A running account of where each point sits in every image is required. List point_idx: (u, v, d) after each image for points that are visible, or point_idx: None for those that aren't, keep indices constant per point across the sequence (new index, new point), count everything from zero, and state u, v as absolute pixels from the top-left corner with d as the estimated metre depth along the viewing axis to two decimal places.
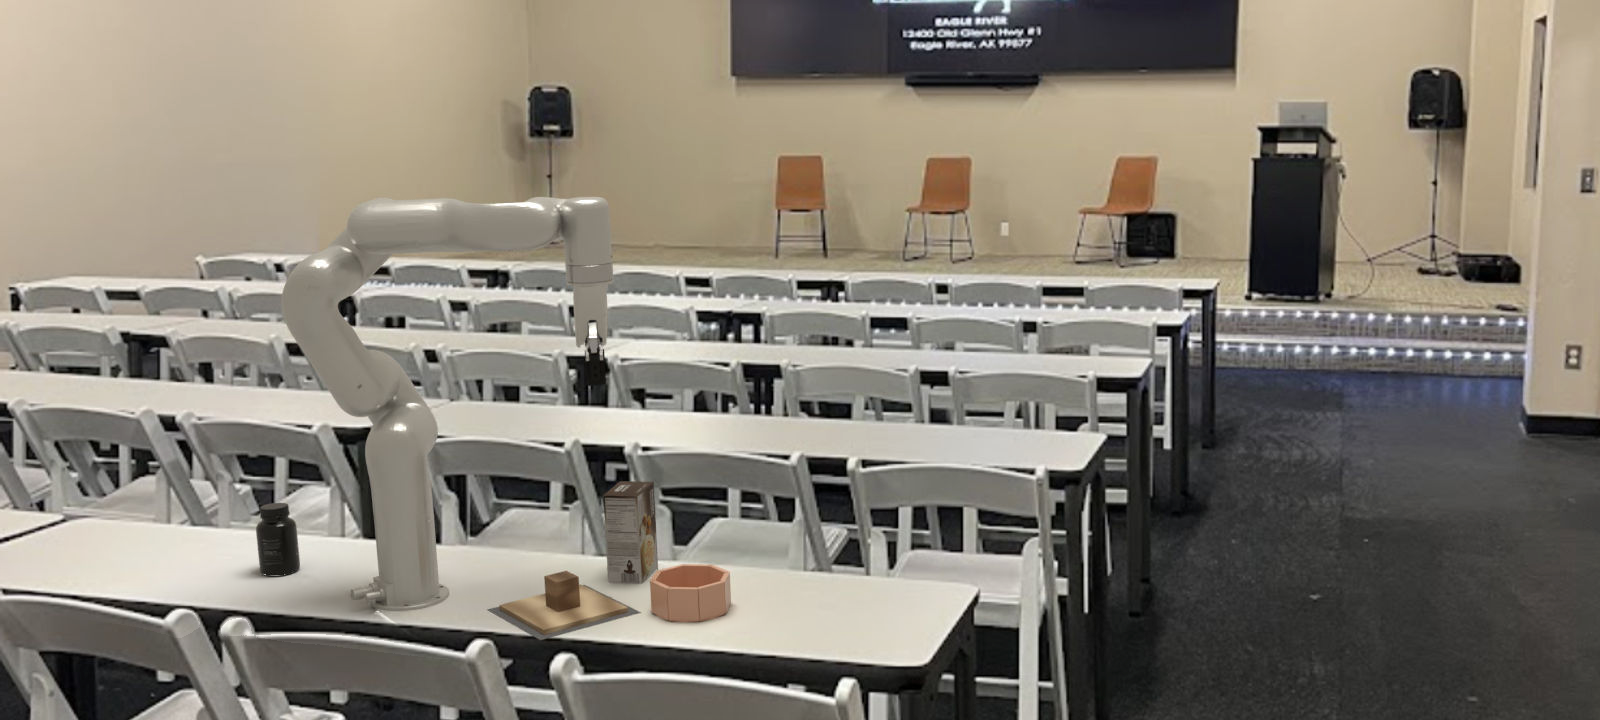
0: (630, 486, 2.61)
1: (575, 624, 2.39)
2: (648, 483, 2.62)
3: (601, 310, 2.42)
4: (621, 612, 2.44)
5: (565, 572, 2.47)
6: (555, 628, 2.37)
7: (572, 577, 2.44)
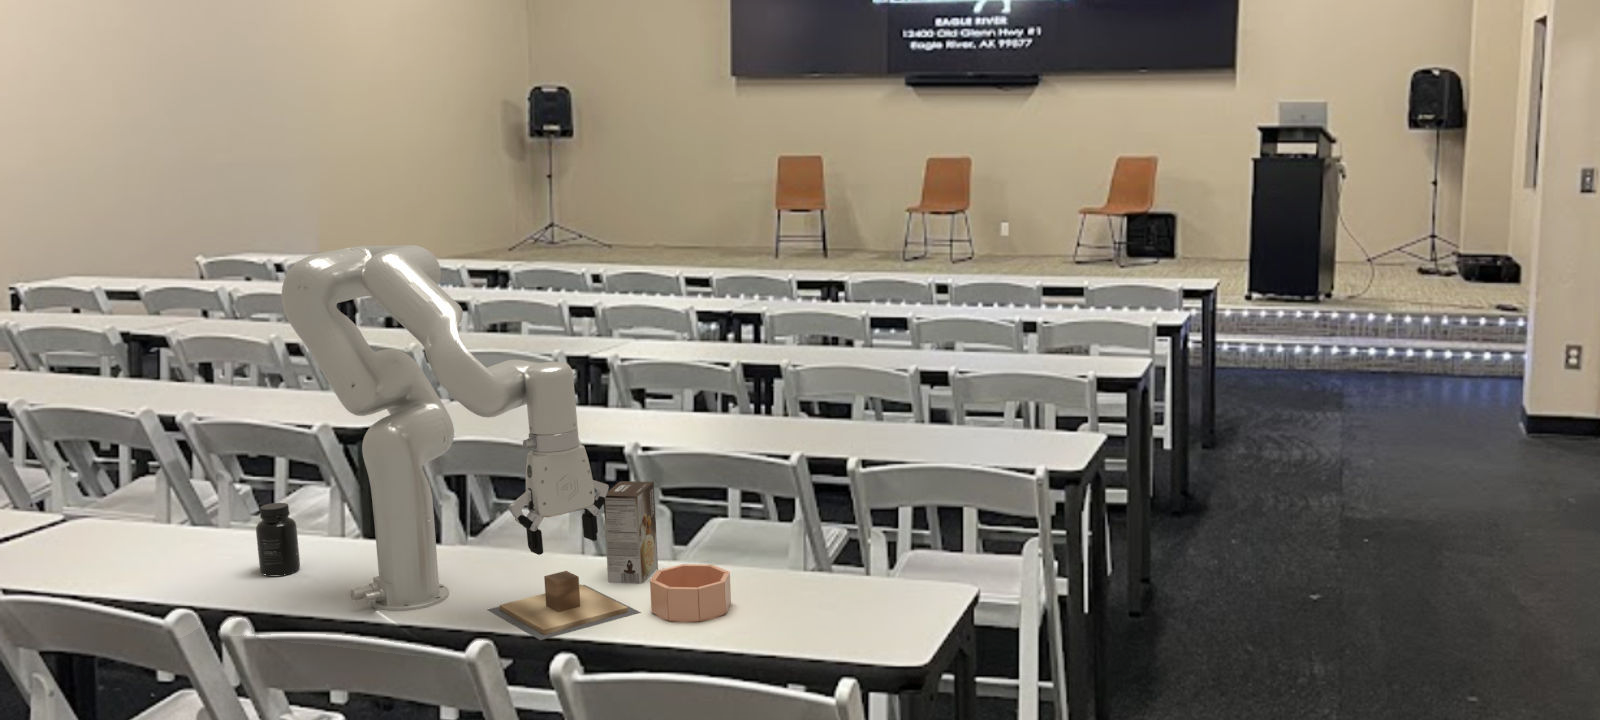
0: (630, 486, 2.61)
1: (575, 624, 2.39)
2: (648, 483, 2.62)
3: None
4: (621, 612, 2.44)
5: (565, 572, 2.47)
6: (555, 628, 2.37)
7: (572, 577, 2.44)
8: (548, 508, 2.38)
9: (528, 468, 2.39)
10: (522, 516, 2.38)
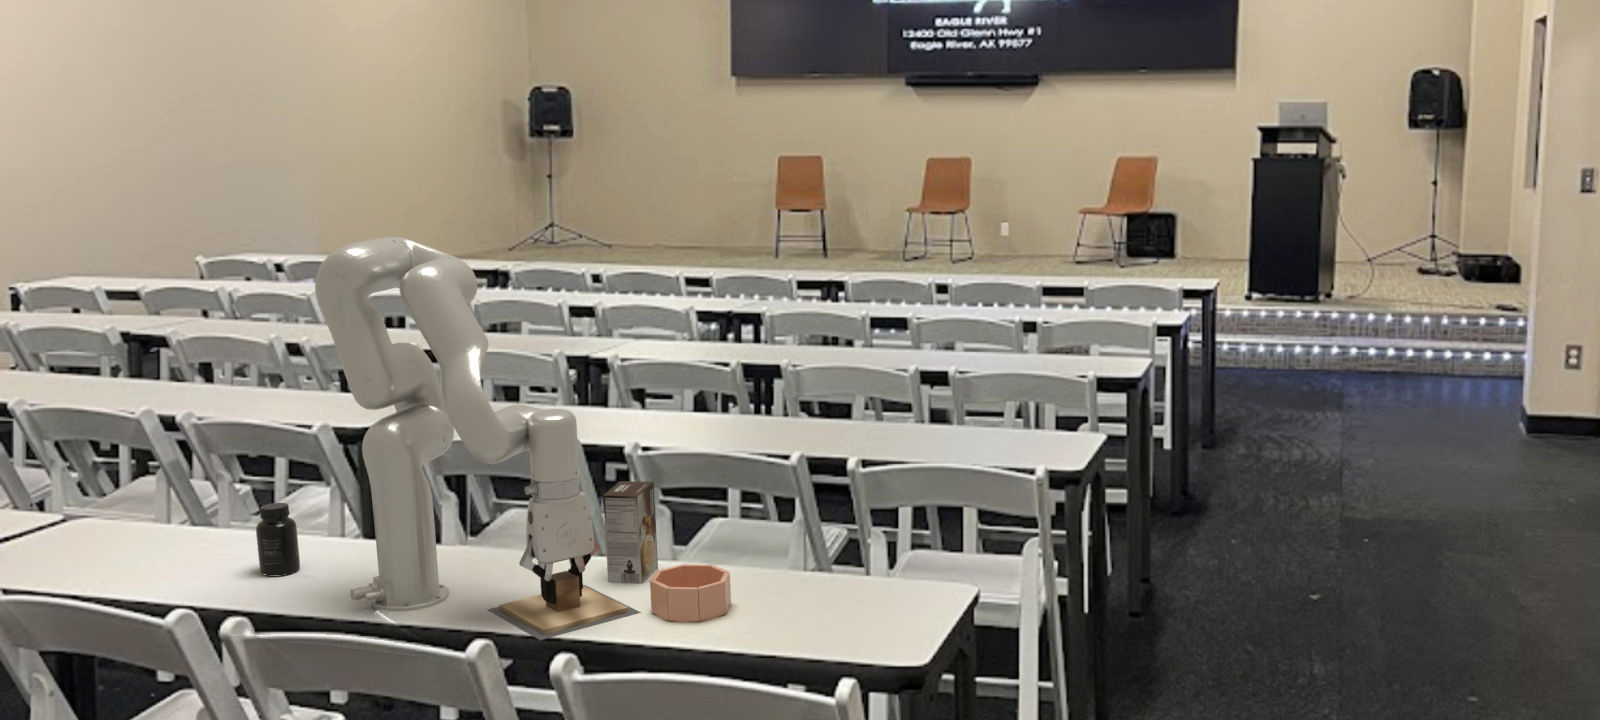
0: (630, 486, 2.61)
1: (575, 624, 2.39)
2: (648, 483, 2.62)
3: None
4: (621, 612, 2.44)
5: (565, 572, 2.47)
6: (555, 628, 2.37)
7: (572, 577, 2.44)
8: (548, 555, 2.40)
9: (529, 514, 2.41)
10: (537, 566, 2.41)
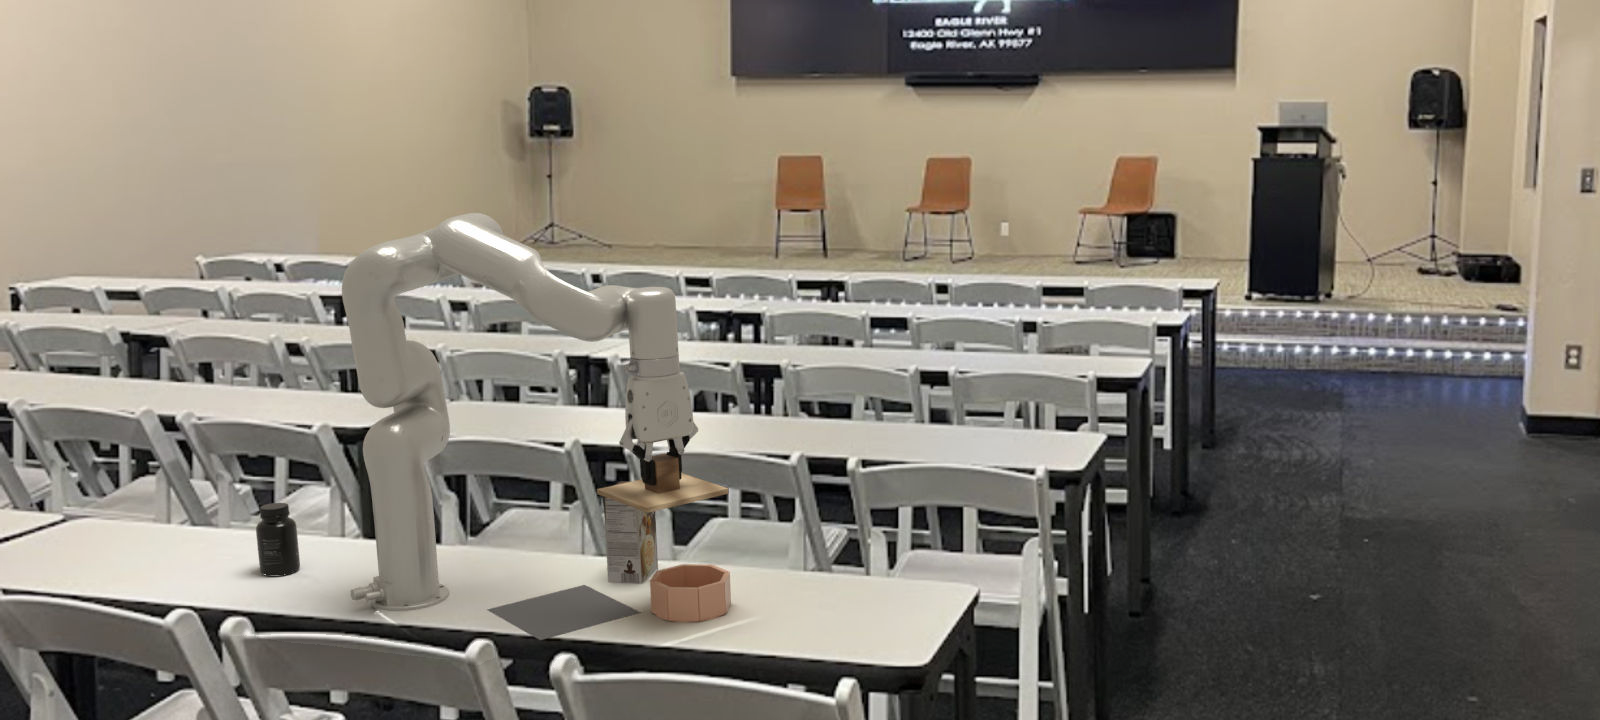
0: None
1: (677, 503, 2.34)
2: None
3: None
4: (722, 493, 2.39)
5: (664, 455, 2.42)
6: (658, 506, 2.32)
7: (672, 458, 2.40)
8: (648, 434, 2.35)
9: (628, 393, 2.37)
10: (637, 446, 2.37)
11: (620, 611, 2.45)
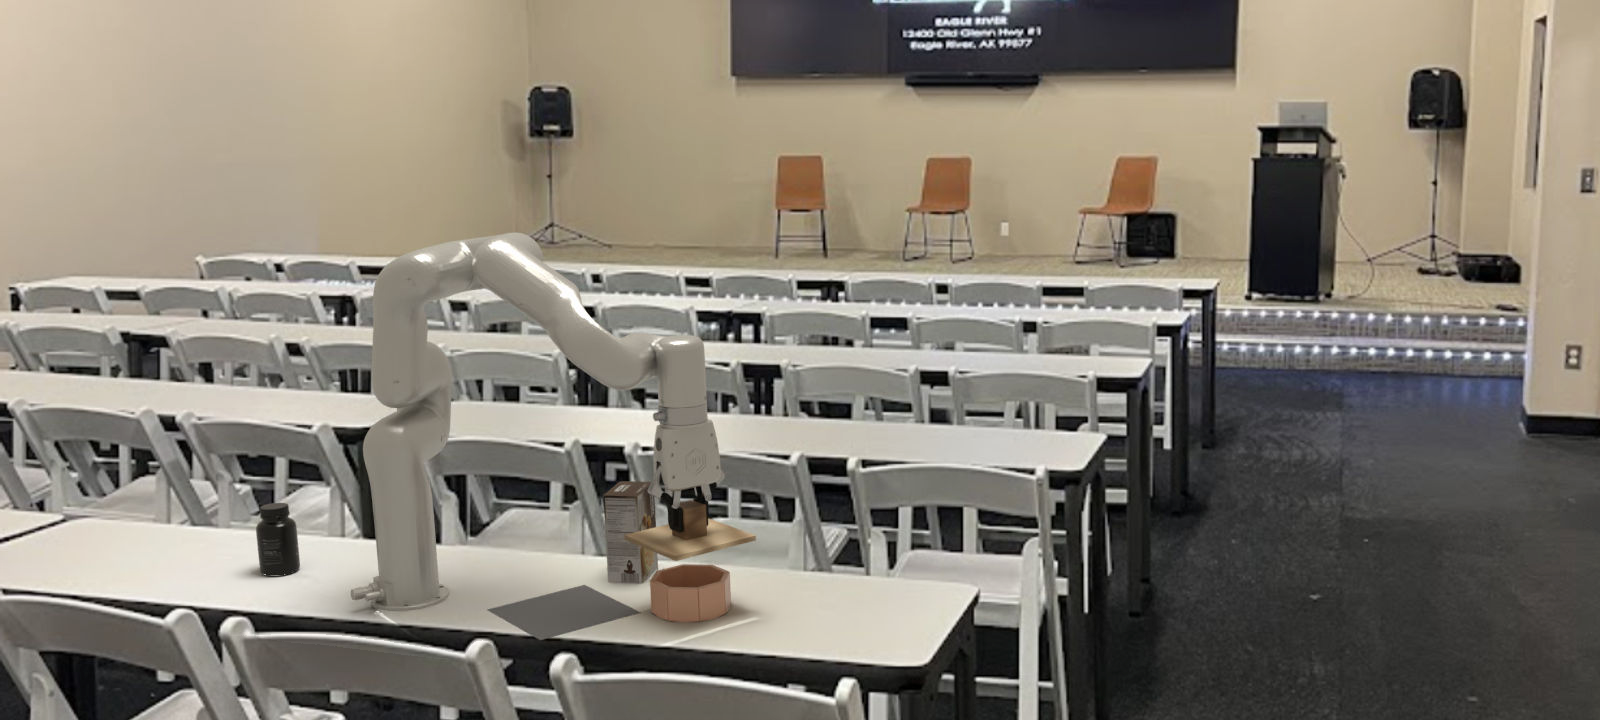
0: (630, 486, 2.61)
1: (705, 551, 2.36)
2: (648, 483, 2.62)
3: None
4: (749, 540, 2.41)
5: (691, 501, 2.44)
6: (686, 554, 2.34)
7: (699, 505, 2.41)
8: (677, 482, 2.37)
9: (657, 441, 2.38)
10: (665, 493, 2.38)
11: (620, 611, 2.45)
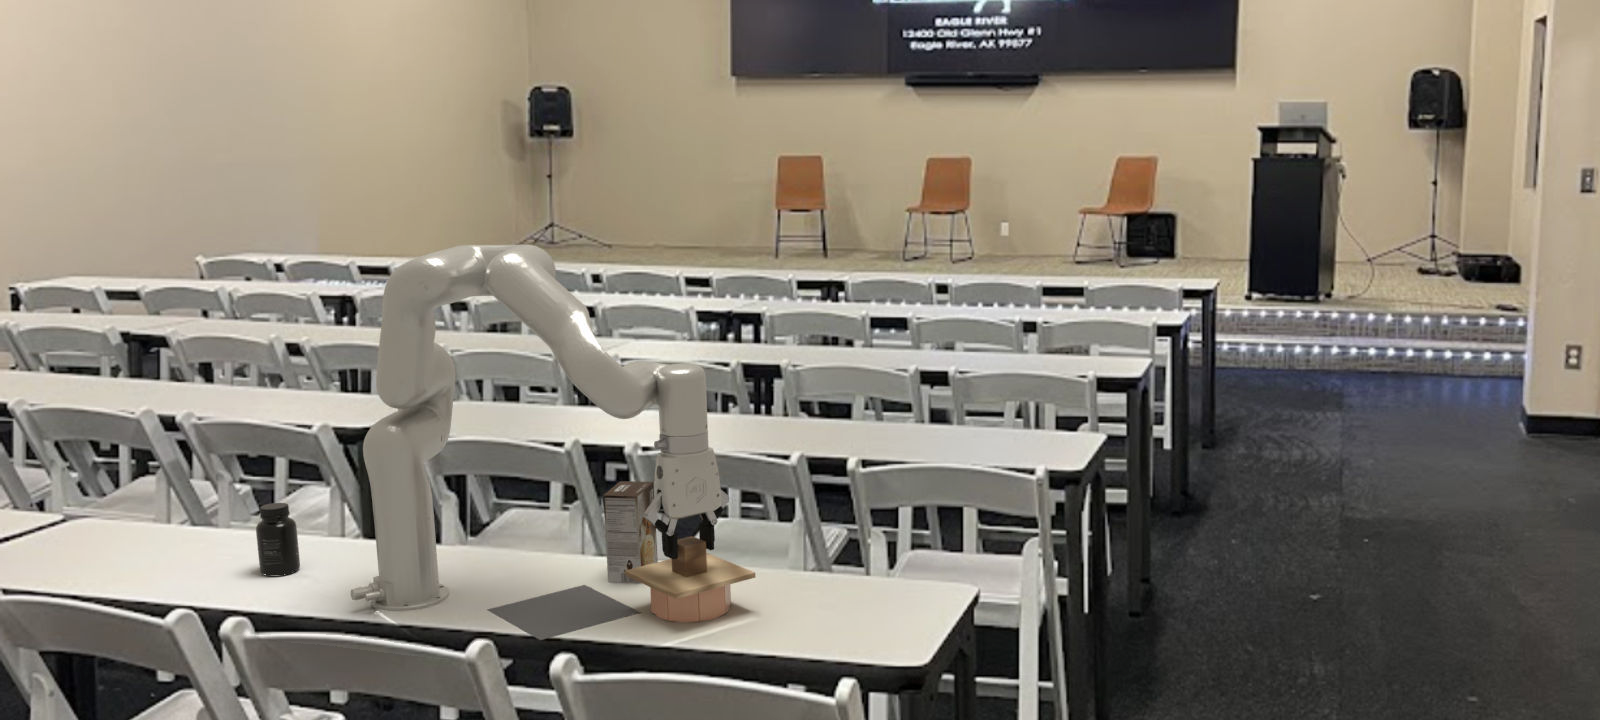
0: (630, 486, 2.61)
1: (705, 588, 2.37)
2: (648, 483, 2.62)
3: None
4: (749, 577, 2.42)
5: (691, 537, 2.45)
6: (686, 592, 2.35)
7: (699, 542, 2.42)
8: (677, 510, 2.38)
9: (658, 469, 2.39)
10: (659, 521, 2.38)
11: (620, 611, 2.45)
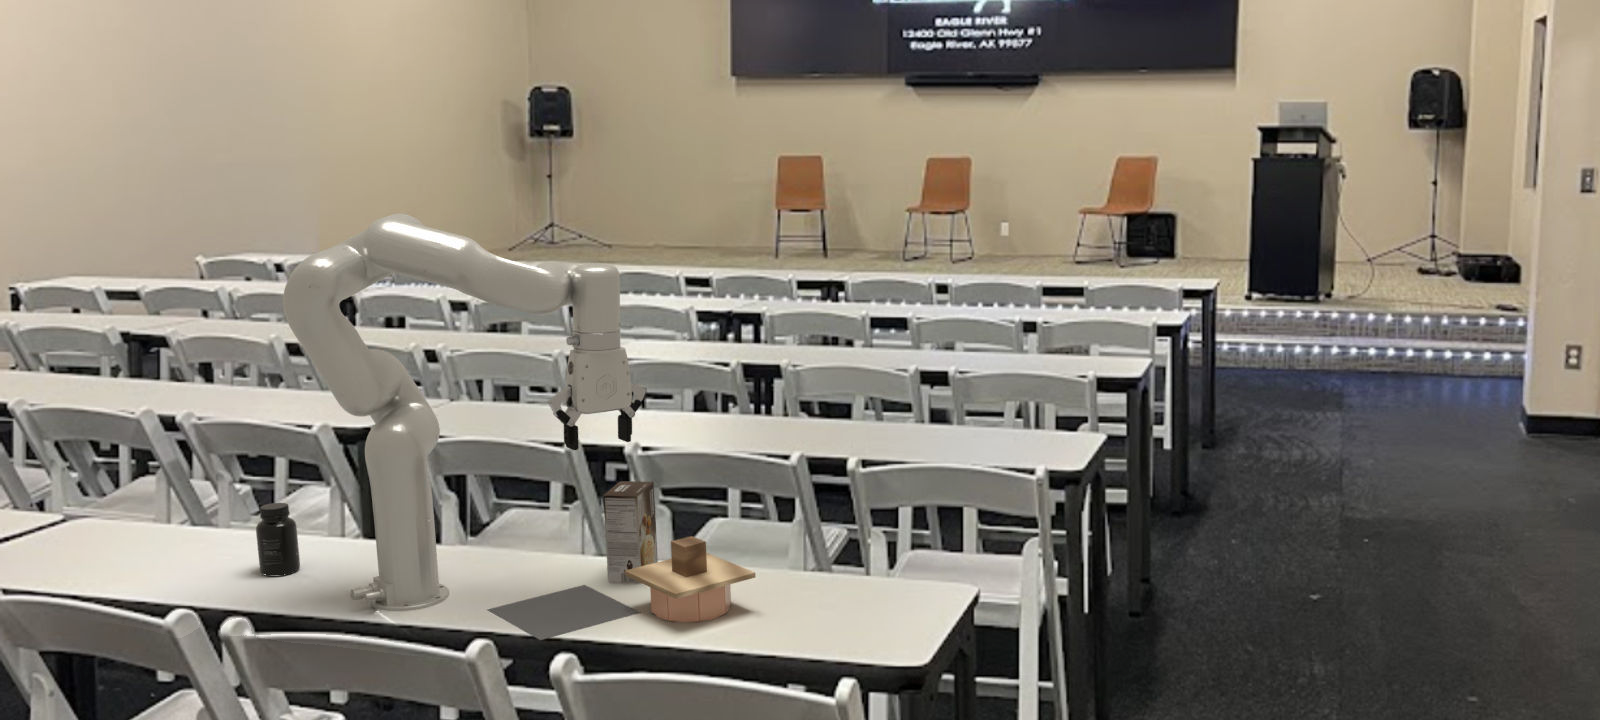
0: (630, 486, 2.61)
1: (705, 588, 2.37)
2: (648, 483, 2.62)
3: None
4: (749, 577, 2.42)
5: (691, 537, 2.45)
6: (686, 592, 2.35)
7: (699, 542, 2.42)
8: (586, 405, 2.44)
9: (569, 365, 2.45)
10: (560, 411, 2.44)
11: (620, 611, 2.45)
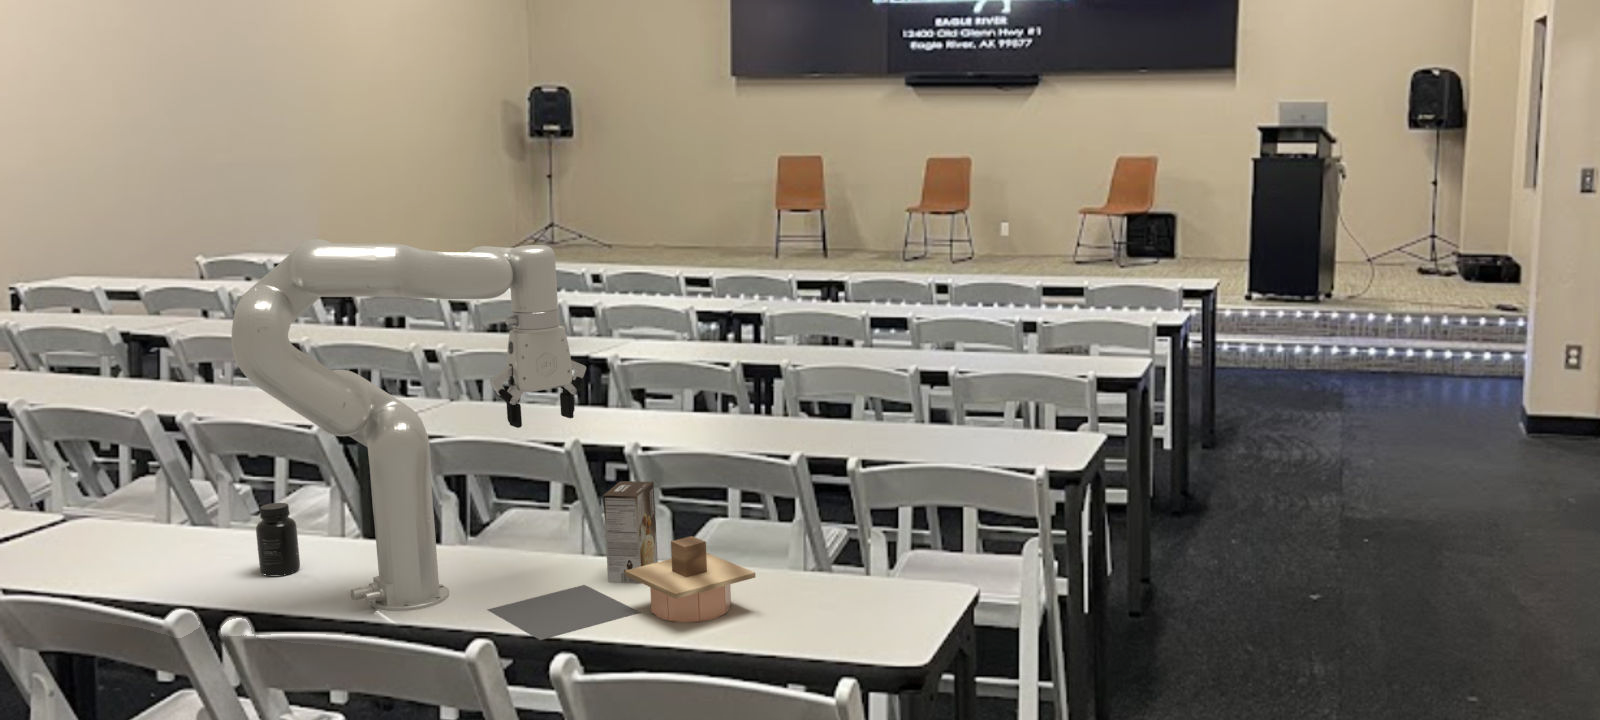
0: (630, 486, 2.61)
1: (705, 588, 2.37)
2: (648, 483, 2.62)
3: None
4: (749, 577, 2.42)
5: (691, 537, 2.45)
6: (686, 592, 2.35)
7: (699, 542, 2.42)
8: (527, 383, 2.50)
9: (510, 345, 2.52)
10: (502, 390, 2.50)
11: (620, 611, 2.45)
